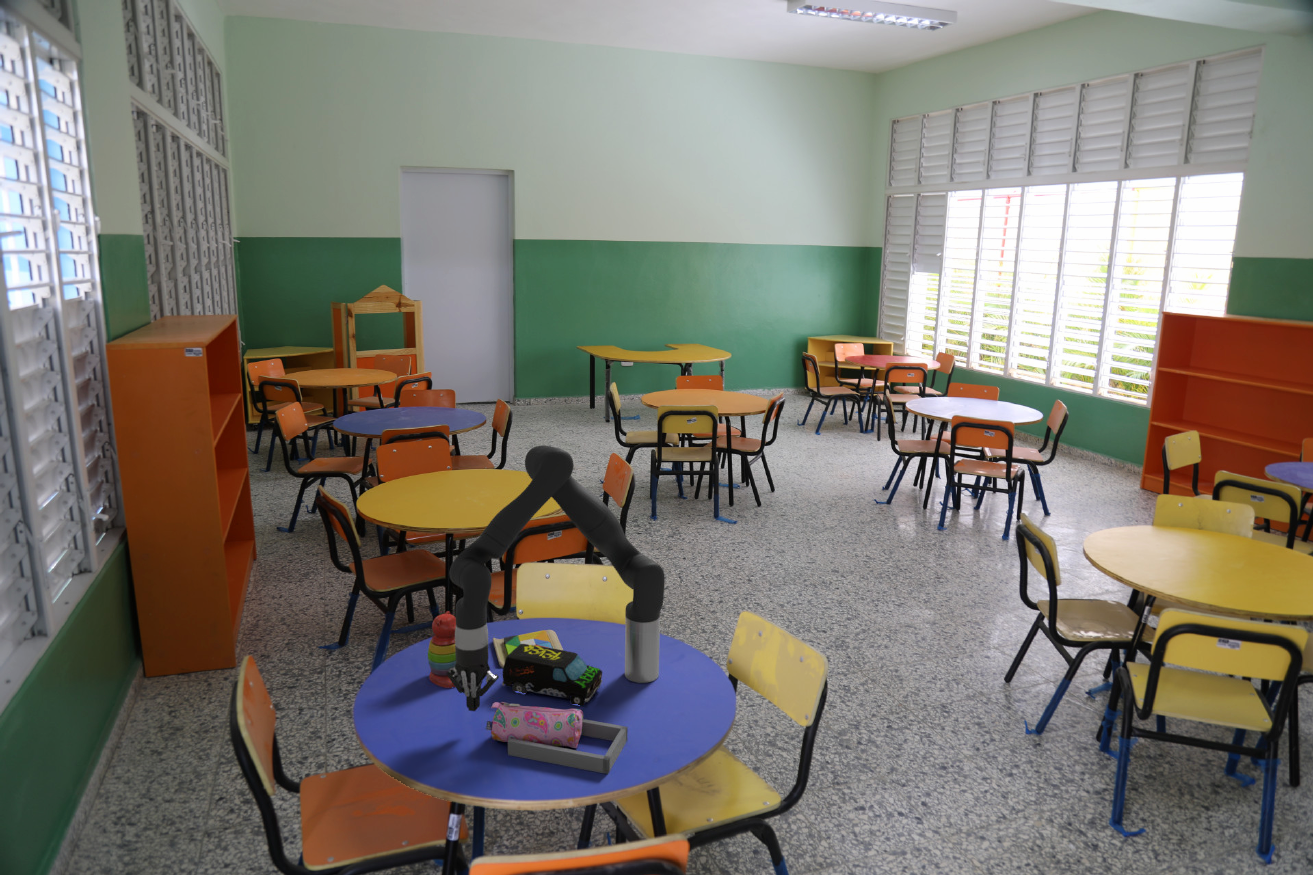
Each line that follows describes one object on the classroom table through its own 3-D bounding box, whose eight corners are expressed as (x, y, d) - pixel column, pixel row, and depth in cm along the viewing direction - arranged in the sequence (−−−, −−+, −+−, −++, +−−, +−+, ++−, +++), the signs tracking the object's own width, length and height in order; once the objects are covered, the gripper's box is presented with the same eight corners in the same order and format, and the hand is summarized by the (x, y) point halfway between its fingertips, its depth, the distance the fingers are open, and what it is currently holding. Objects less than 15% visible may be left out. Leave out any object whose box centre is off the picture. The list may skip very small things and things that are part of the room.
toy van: (588, 709, 213) (588, 672, 211) (500, 691, 220) (499, 656, 218) (604, 689, 223) (604, 654, 221) (519, 672, 230) (519, 638, 228)
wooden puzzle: (492, 642, 249) (491, 631, 248) (555, 635, 254) (555, 624, 253) (499, 670, 232) (499, 658, 232) (567, 661, 238) (567, 650, 237)
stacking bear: (453, 689, 221) (451, 626, 217) (419, 683, 224) (417, 620, 220) (475, 671, 231) (473, 609, 227) (442, 664, 234) (440, 604, 230)
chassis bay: (533, 723, 206) (532, 710, 205) (627, 740, 199) (627, 726, 198) (507, 754, 193) (507, 740, 192) (608, 773, 186) (608, 759, 186)
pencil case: (485, 747, 196) (484, 712, 194) (499, 726, 204) (498, 692, 202) (576, 757, 192) (576, 721, 190) (585, 735, 201) (585, 701, 199)
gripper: (504, 638, 199) (505, 706, 203) (454, 630, 203) (456, 697, 206) (490, 652, 192) (491, 722, 196) (438, 644, 196) (440, 712, 199)
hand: (473, 709), depth 201 cm, fingers closed
